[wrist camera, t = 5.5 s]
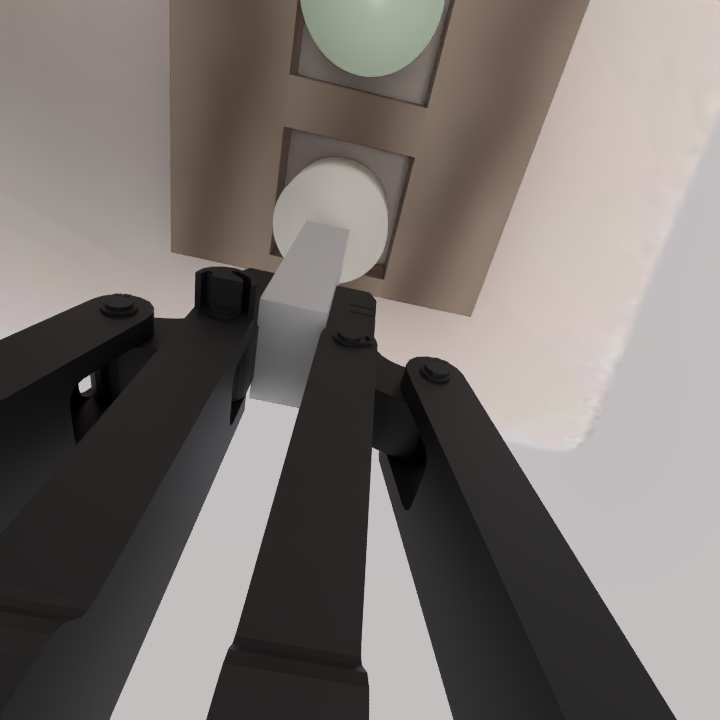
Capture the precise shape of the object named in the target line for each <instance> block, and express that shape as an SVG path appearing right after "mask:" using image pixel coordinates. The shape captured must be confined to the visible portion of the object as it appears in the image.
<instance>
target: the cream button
mask: <svg viewBox="0 0 720 720" xmlns="http://www.w3.org/2000/svg"><path fill="white" fill-rule="evenodd" d="M306 220H308V221H312V222H317V223H321V224H325V225H330V226H334V227H339V228H343V229H347V230H350V232H349V237H348V242H347V247H346V252H345V257H344V262H343V267H342V272H341V277H340V282H339V283H345V282H349V281H352V280H355V279H357V278H359V277H361V276H362V275H364V274H365V273H367V272H368V271H369V270H370V269H371V268H372V267H373V266H374V265H375V264H376V263H377V261H378V260H379V258H380V257H381V255H382V252H383V250H384V248H385V244H386V240H387V234H388V205H387V199H386V195H385V192H384V190H383V188H382V186H381V184H380V182H379V181H378V179H377V178H376V176H375V175H374V174H373V173H372V172H371V171H370V170H369V169H368V168H366V167H365V166H363V165H362V164H360V163H358V162H356V161H354V160H351V159H348V158H343V157H326V158H322V159H319V160H316V161H314V162H312V163H310V164H309V165H307V166H306V167H305V168H303V169H302V170H301V171H300V172H299V173H298V174H297V176H296V177H295V178H294V179H293V180H292V181H291V182H290V183H289V184H288V185H287V186H286V188H285V189H284V190H283V192H282V193H281V195H280V196H279V198H278V200H277V203H276V206H275V209H274V214H273V233H274V237H275V241H276V244H277V247H278V249H279V251H280V253H281V254H282V256H283V257H285V256H286V254H287V252H288V251H289V249H290V247H291V246H292V244H293V242H294V240H295V239H296V237H297V235H298V234H299V232H300V230H301V229H302V227H303V225H304V224H305V222H306Z"/></svg>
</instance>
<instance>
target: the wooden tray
mask: <svg viewBox="0 0 720 720" xmlns="http://www.w3.org/2000/svg"><path fill="white" fill-rule="evenodd" d="M589 1H590V0H451V2H450V6H449V10H448V14H447V18H446V22H445V26H444V30H443V34H442V38H441V42H440V46H439V50H438V54H437V58H436V62H435V66H434V70H433V74H432V78H431V82H430V86H429V90H428V94H427V98H426V102H425V106H423V105H419V104H415V103H411V102H407V101H403V100H399V99H395V98H391V97H386V96H382V95H378V94H374V93H370V92H366V91H362V90H358V89H354V88H350V87H346V86H342V85H338V84H334V83H330V82H325V81H321V80H317V79H313V78H309V77H305V76H301V75H297V74H298V66H299V57H300V49H301V40H302V32H303V23H304V16H303V12H302V8H301V1H300V0H170V119H171V252H174V253H178V254H183V255H187V256H192V257H197V258H201V259H206V260H210V261H215V262H220V263H224V264H229V265H233V266H238V267H243V268H247V269H249V268H254V269H259V270H263V271H268V272H273V273H275V272H276V271H277V269H278V267H279V266H280V264H281V262H282V261H283V259H284V257H283V256H282V254H281V253H280V251H279V249H278V247H277V244H276V241H275V237H274V233H273V214H274V209H275V206H276V203H277V200H278V198H279V196H280V195H281V193H282V192H283V190H284V183H285V175H286V167H287V158H288V150H289V141H290V133H291V128H293V129H297V130H301V131H305V132H309V133H314V134H318V135H322V136H326V137H330V138H335V139H339V140H343V141H347V142H351V143H356V144H360V145H364V146H368V147H372V148H377V149H381V150H385V151H389V152H393V153H398V154H402V155H406V156H410V157H412V158H411V162H410V166H409V170H408V174H407V178H406V182H405V186H404V190H403V194H402V198H401V202H400V206H399V210H398V214H397V218H396V222H395V226H394V230H393V234H392V238H391V242H390V246H389V250H388V254H387V258H386V262H385V266H380V265H376V264H375V265H374V266H373V267H372V268H371V269H370V270H369V271H368V272H367V273H365V274H364V275H362V276H361V277H359V278H357V279H355V280H352V281H349V282H345V283H339V286H343V287H347V288H352V289H356V290H361V291H366V292H370V293H371V295H372V296H376V297H381V298H385V299H390V300H395V301H399V302H404V303H408V304H413V305H418V306H422V307H427V308H431V309H436V310H441V311H445V312H450V313H454V314H459V315H464V316H468V317H471V314H472V312H473V309H474V306H475V304H476V301H477V298H478V296H479V293H480V290H481V288H482V285H483V283H484V280H485V277H486V275H487V272H488V269H489V267H490V264H491V261H492V259H493V256H494V253H495V251H496V248H497V245H498V243H499V240H500V237H501V235H502V232H503V229H504V227H505V224H506V221H507V219H508V216H509V213H510V211H511V208H512V205H513V203H514V200H515V197H516V195H517V192H518V189H519V187H520V184H521V182H522V179H523V176H524V174H525V171H526V168H527V166H528V163H529V160H530V158H531V155H532V152H533V150H534V147H535V144H536V142H537V139H538V136H539V134H540V131H541V128H542V126H543V123H544V120H545V118H546V115H547V112H548V110H549V107H550V104H551V102H552V99H553V96H554V94H555V91H556V88H557V86H558V83H559V81H560V78H561V75H562V73H563V70H564V67H565V65H566V62H567V59H568V57H569V54H570V51H571V49H572V46H573V43H574V41H575V38H576V35H577V33H578V30H579V27H580V25H581V22H582V19H583V17H584V14H585V11H586V9H587V6H588V3H589Z"/></svg>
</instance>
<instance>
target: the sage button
mask: <svg viewBox="0 0 720 720" xmlns="http://www.w3.org/2000/svg"><path fill="white" fill-rule="evenodd" d="M300 1H301V8H302V12H303V16H304V20H305V22H306V25H307V28H308V30H309V32H310V34H311V36H312V38H313V40H314V42H315V43H316V45H317V46H318V48H319V49H320V50H321V52H322V53H323V54H324V55H325V56H326V57H327V58H328V59H329V60H330V61H331V62H332V63H334V64H335V65H336V66H338V67H339V68H341V69H343V70H345V71H347V72H349V73H352V74H355V75H359V76H364V77H379V76H385V75H389V74H392V73H394V72H396V71H398V70H400V69H402V68H404V67H405V66H407V65H408V64H410V63H411V62H412V61H413V60H414V59H416V58H417V57H418V56H419V54H420V53H421V52H422V51H423V50H424V49H425V47H426V46H427V45H428V43H429V42H430V40H431V38H432V37H433V35H434V33H435V31H436V29H437V26H438V24H439V22H440V19H441V15H442V12H443V8H444V3H445V0H300Z"/></svg>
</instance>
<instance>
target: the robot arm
mask: <svg viewBox="0 0 720 720" xmlns="http://www.w3.org/2000/svg"><path fill="white" fill-rule="evenodd" d="M349 232H350V230H347V229H343V228H339V227H334V226H330V225H325V224H321V223H317V222H312V221H308V220H306V222H305V224H304V225H303V227H302V229H301V230H300V232H299V234H298V235H297V237H296V239H295V240H294V242H293V244H292V246H291V247H290V249H289V251H288V252H287V254H286V256H285V257H284V259H283V261H282V262H281V264H280V266H279V267H278V269H277V271H276V272H275V273H273V272H268V271H263V270H259V269H254V268H249V269H246V270H243V271H242V270H239V269H236V268H229V267H208V268H203V269H201V270H199V271H197V272H196V273H195V307H194V308H193V309H192V310H191V312H190V313H189V314H188V315H187V316H186V318H183V319H170V318H154V307H153V306H152V304H151V303H150V302H149V301H147V300H145V299H143V298H140V297H136V296H132V295H129V294H124V295H122V294H113V295H105V296H101V297H97V298H94V299H91V300H89V301H87V302H84V303H82V304H80V305H78V306H75V307H73V308H71V309H69V310H66V311H64V312H62V313H60V314H57V315H55V316H53V317H51V318H48V319H46V320H44V321H42V322H39V323H37V324H35V325H33V326H30V327H28V328H26V329H24V330H21V331H19V332H17V333H15V334H12V335H10V336H8V337H6V338H4V339H1V340H0V720H110V717H111V715H112V712H113V710H114V708H115V705H116V703H117V701H118V699H119V696H120V694H121V691H122V689H123V687H124V685H125V682H126V680H127V678H128V676H129V673H130V671H131V668H132V666H133V664H134V662H135V660H136V657H137V655H138V653H139V650H140V648H141V646H142V643H143V641H144V639H145V637H146V634H147V632H148V629H149V627H150V625H151V623H152V621H153V618H154V616H155V614H156V611H157V609H158V607H159V604H160V602H161V600H162V598H163V595H164V593H165V591H166V589H167V586H168V584H169V581H170V579H171V577H172V575H173V572H174V570H175V568H176V566H177V563H178V561H179V559H180V556H181V554H182V552H183V550H184V547H185V545H186V543H187V540H188V538H189V536H190V534H191V531H192V529H193V526H194V524H195V522H196V520H197V517H198V515H199V513H200V511H201V508H202V506H203V504H204V501H205V499H206V497H207V494H208V492H209V490H210V488H211V485H212V483H213V481H214V478H215V476H216V474H217V472H218V469H219V467H220V465H221V462H222V460H223V458H224V456H225V453H226V451H227V449H228V446H229V444H230V442H231V439H232V437H233V435H234V433H235V430H236V428H237V426H238V424H239V421H240V419H241V417H242V414H243V412H244V408H245V398H246V392H247V390H248V388H249V386H250V384H251V388H250V398H253V399H257V400H262V401H267V402H272V403H278V404H282V405H287V406H292V407H297V408H299V412H298V415H297V419H296V423H295V426H294V429H293V433H292V437H291V440H290V444H289V447H288V451H287V455H286V458H285V461H284V465H283V469H282V473H281V476H280V479H279V483H278V486H277V490H276V493H275V497H274V501H273V504H272V508H271V511H270V515H269V518H268V522H267V526H266V529H265V533H264V536H263V540H262V543H261V547H260V550H259V554H258V558H257V561H256V565H255V569H254V572H253V575H252V579H251V583H250V586H249V590H248V593H247V597H246V600H245V604H244V607H243V611H242V615H241V618H240V622H239V625H238V628H237V632H236V635H235V638H234V641H233V643H232V645H231V646H230V647H229V649H228V652H227V654H226V657H225V660H224V662H223V665H222V669H221V672H220V675H219V678H218V682H217V685H216V688H215V692H214V695H213V699H212V702H211V706H210V709H209V712H208V716H207V720H369V684H368V676H367V672H366V670H365V669H364V668H363V666H362V662H361V640H362V621H363V603H364V584H365V564H366V547H367V529H368V509H369V492H370V472H371V455H372V454H371V453H372V447H373V448H375V449H377V450H379V462H380V465H381V469H382V472H383V476H384V479H385V482H386V486H387V490H388V493H389V497H390V500H391V503H392V507H393V511H394V514H395V518H396V521H397V525H398V528H399V531H400V535H401V538H402V542H403V545H404V549H405V552H406V556H407V559H408V563H409V566H410V570H411V573H412V577H413V580H414V584H415V587H416V591H417V594H418V598H419V600H420V605H421V608H422V612H423V615H424V618H425V622H426V625H427V629H428V632H429V636H430V639H431V643H432V646H433V650H434V653H435V657H436V660H437V664H438V667H439V670H440V674H441V678H442V681H443V684H444V688H445V692H446V695H447V698H448V702H449V705H450V709H451V712H452V716H453V719H454V720H677V719H676V718H675V716H674V715H673V713H672V711H671V710H670V708H669V707H668V705H667V703H666V702H665V700H664V698H663V697H662V695H661V694H660V692H659V691H658V689H657V687H656V686H655V684H654V682H653V681H652V679H651V677H650V676H649V674H648V673H647V671H646V670H645V668H644V666H643V665H642V663H641V661H640V660H639V658H638V657H637V655H636V653H635V652H634V650H633V648H632V647H631V645H630V644H629V642H628V640H627V639H626V637H625V635H624V634H623V632H622V631H621V629H620V627H619V626H618V625H617V623H616V621H615V619H614V618H613V616H612V615H611V613H610V611H609V610H608V608H607V606H606V605H605V603H604V602H603V600H602V598H601V597H600V595H599V594H598V592H597V590H596V589H595V587H594V585H593V584H592V583H591V581H590V579H589V577H588V576H587V574H586V573H585V571H584V569H583V568H582V566H581V564H580V563H579V561H578V560H577V558H576V556H575V555H574V553H573V551H572V550H571V548H570V547H569V545H568V543H567V542H566V540H565V539H564V537H563V535H562V534H561V532H560V530H559V529H558V527H557V526H556V524H555V523H554V521H553V519H552V518H551V516H550V514H549V513H548V511H547V510H546V508H545V506H544V505H543V503H542V502H541V500H540V498H539V497H538V495H537V493H536V492H535V490H534V489H533V487H532V485H531V484H530V482H529V480H528V479H527V477H526V476H525V474H524V472H523V471H522V469H521V468H520V466H519V464H518V463H517V461H516V459H515V458H514V456H513V455H512V453H511V451H510V450H509V448H508V447H507V445H506V443H505V442H504V440H503V438H502V437H501V435H500V434H499V432H498V430H497V429H496V427H495V426H494V424H493V422H492V421H491V419H490V417H489V416H488V414H487V413H486V411H485V409H484V408H483V406H482V405H481V403H480V401H479V400H478V398H477V396H476V395H475V393H474V392H473V390H472V388H471V387H470V385H469V384H468V382H467V380H466V379H465V377H464V375H463V374H462V373H461V372H460V371H459V370H458V369H457V368H456V367H454V366H452V365H451V364H449V363H448V362H446V361H444V360H441V359H439V358H432V357H416V358H413V359H410V360H409V362H408V363H407V364H406V367H403V366H400V365H398V364H395V363H393V362H391V361H389V360H388V359H386V358H385V357H383V356H382V355H381V354H380V353H379V352H378V351H377V342H376V339H375V338H374V329H375V314H376V300H375V299H374V297H373V296H372V295H371V293H370V292H366V291H361V290H356V289H352V288H347V287H343V286H339V282H340V277H341V272H342V267H343V262H344V257H345V252H346V247H347V242H348V237H349ZM88 375H90V377H91V386H92V387H91V388H90V389H88V390H87V391H85V392H83V393H80V391H79V386H78V383H79V382H80V381H81V380H82V379H84V378H85V377H87V376H88Z"/></svg>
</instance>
